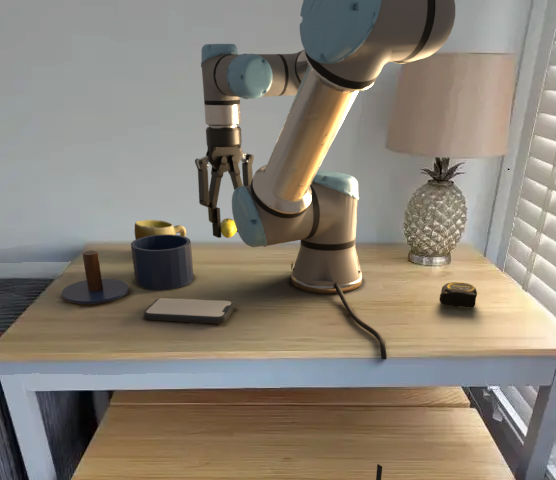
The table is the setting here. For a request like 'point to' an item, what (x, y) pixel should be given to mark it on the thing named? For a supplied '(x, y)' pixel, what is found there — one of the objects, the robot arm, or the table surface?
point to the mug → (157, 228)
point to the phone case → (189, 310)
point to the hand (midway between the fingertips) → (228, 234)
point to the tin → (162, 261)
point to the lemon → (228, 228)
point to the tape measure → (458, 295)
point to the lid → (94, 284)
